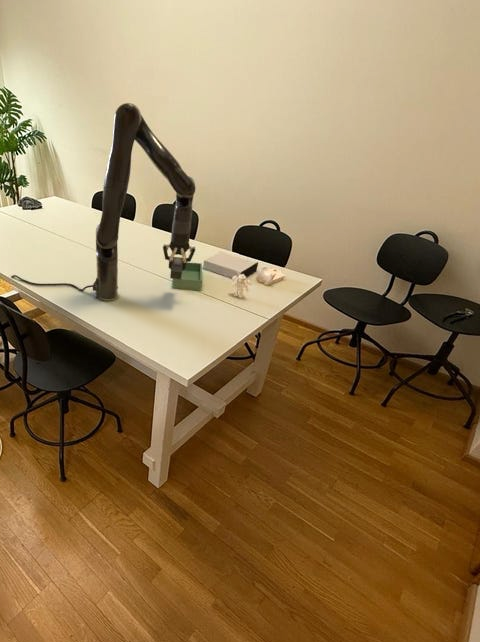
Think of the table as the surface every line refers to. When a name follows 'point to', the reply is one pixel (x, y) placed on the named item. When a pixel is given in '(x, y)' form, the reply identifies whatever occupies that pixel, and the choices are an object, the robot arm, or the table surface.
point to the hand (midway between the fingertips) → (176, 269)
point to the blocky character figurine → (240, 284)
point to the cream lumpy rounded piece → (269, 275)
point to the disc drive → (230, 265)
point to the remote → (176, 268)
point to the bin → (190, 277)
